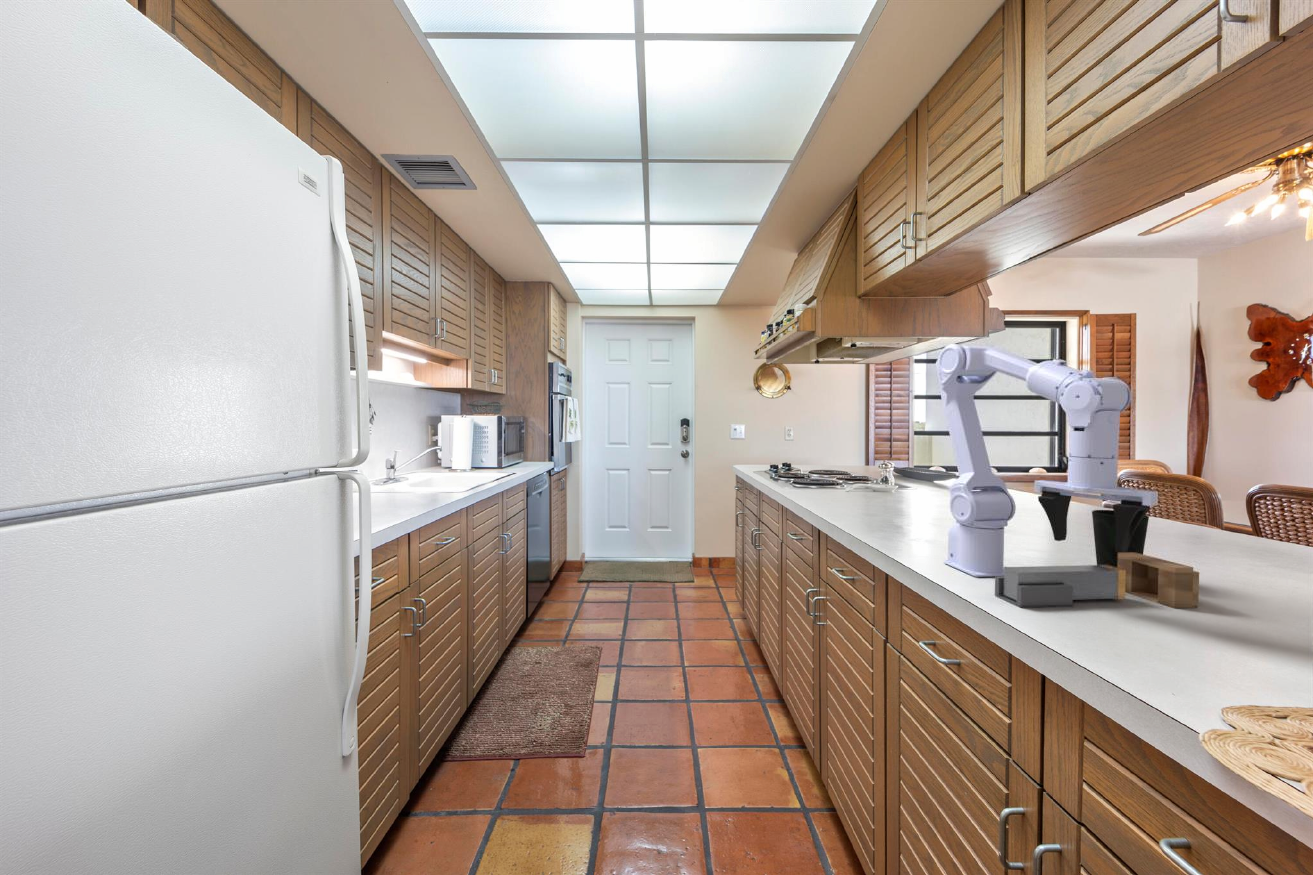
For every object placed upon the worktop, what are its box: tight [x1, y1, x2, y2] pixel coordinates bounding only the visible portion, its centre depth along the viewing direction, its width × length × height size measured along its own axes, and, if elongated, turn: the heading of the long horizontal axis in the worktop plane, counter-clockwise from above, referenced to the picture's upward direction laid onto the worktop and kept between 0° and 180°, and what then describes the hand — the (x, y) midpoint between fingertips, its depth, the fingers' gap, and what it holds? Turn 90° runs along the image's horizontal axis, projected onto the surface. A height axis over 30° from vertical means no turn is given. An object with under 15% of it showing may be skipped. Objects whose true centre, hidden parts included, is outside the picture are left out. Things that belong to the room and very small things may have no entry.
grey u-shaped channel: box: [994, 576, 1073, 609], centre depth 81 cm, size 5×8×3 cm, turn 94°
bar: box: [1003, 564, 1126, 601], centre depth 81 cm, size 3×18×5 cm, turn 94°
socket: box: [1117, 552, 1200, 609], centre depth 82 cm, size 9×4×6 cm, turn 4°
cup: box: [1091, 509, 1150, 567], centre depth 92 cm, size 8×8×12 cm
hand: (1089, 545), depth 77 cm, fingers open, 7 cm apart
